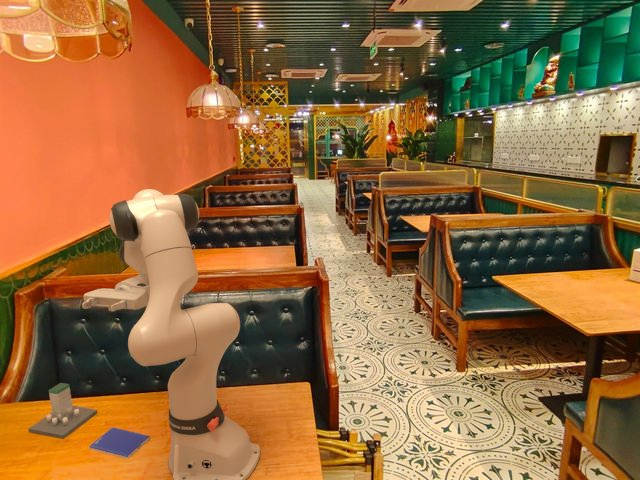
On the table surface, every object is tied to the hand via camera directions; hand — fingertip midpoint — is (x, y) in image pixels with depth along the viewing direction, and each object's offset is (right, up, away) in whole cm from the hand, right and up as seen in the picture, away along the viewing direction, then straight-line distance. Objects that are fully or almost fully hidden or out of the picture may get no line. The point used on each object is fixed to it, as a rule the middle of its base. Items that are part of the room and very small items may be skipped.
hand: (97, 307), depth 128 cm
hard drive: (+14, -34, -15) cm, 40 cm away
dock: (-6, -32, -6) cm, 33 cm away
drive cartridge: (-6, -31, -6) cm, 32 cm away
